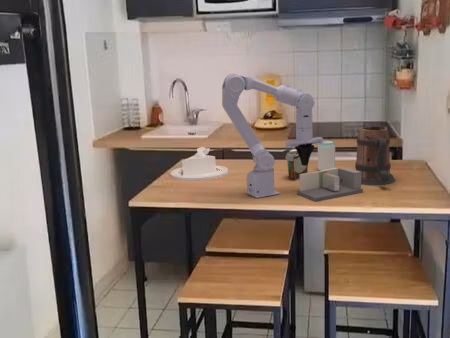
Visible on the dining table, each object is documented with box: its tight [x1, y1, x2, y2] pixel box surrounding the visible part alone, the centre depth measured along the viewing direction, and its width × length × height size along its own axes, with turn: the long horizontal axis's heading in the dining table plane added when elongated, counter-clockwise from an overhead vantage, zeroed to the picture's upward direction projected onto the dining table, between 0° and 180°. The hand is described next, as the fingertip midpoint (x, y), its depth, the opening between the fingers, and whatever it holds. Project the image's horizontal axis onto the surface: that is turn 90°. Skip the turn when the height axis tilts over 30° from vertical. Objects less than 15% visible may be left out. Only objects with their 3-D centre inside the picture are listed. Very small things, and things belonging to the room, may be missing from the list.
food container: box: [285, 151, 309, 181], centre depth 203 cm, size 12×6×10 cm, turn 141°
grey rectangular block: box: [322, 172, 342, 191], centre depth 179 cm, size 6×7×5 cm
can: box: [317, 140, 336, 171], centre depth 211 cm, size 7×7×12 cm
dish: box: [170, 146, 229, 182], centre depth 217 cm, size 25×25×11 cm
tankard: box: [354, 125, 397, 187], centre depth 189 cm, size 24×17×20 cm
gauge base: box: [296, 166, 364, 202], centre depth 178 cm, size 20×11×7 cm, turn 116°
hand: (304, 165), depth 182 cm, fingers closed
